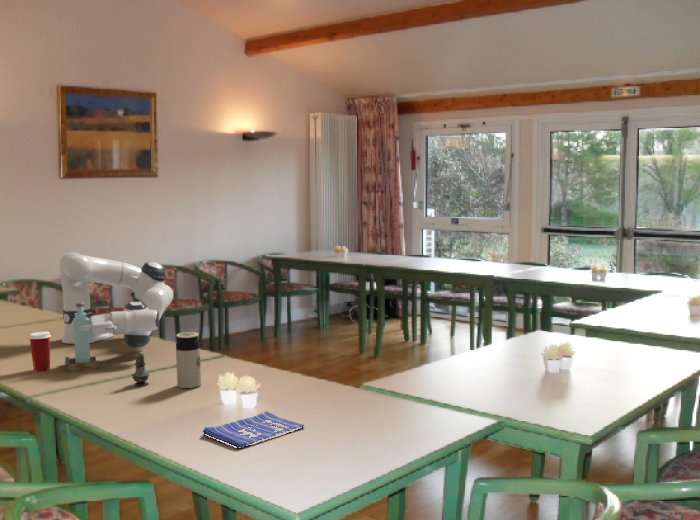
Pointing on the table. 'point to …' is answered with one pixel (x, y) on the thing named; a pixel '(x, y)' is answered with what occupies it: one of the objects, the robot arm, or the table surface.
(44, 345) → the paper cup
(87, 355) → the bottle
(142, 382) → the salt shaker
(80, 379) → the table surface
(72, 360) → the brown square frame
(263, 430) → the dish towel
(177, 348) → the travel mug
